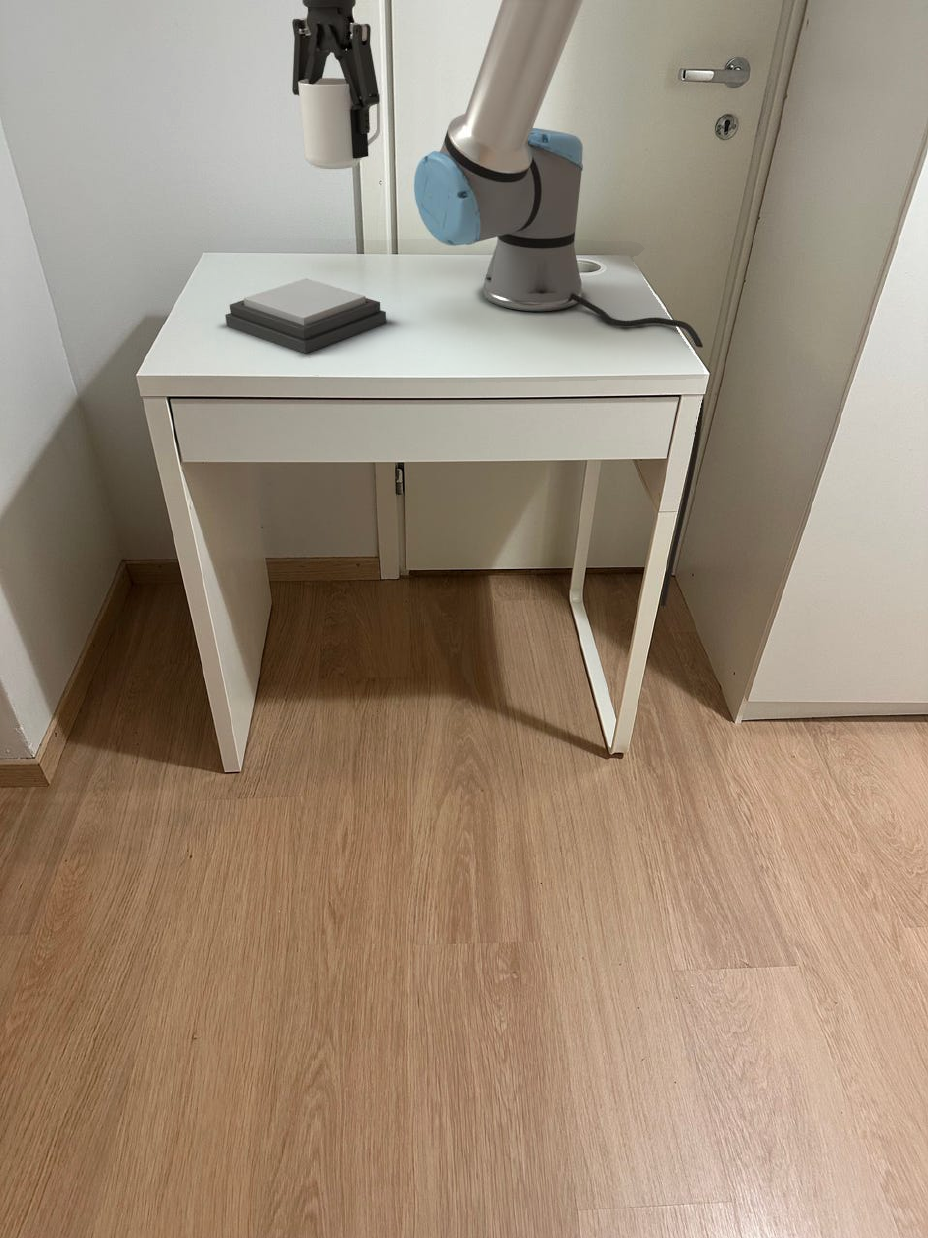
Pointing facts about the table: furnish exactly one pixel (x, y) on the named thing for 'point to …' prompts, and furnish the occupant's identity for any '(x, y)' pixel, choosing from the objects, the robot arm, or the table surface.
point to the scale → (306, 326)
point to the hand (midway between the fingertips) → (338, 152)
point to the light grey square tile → (304, 301)
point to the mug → (328, 123)
